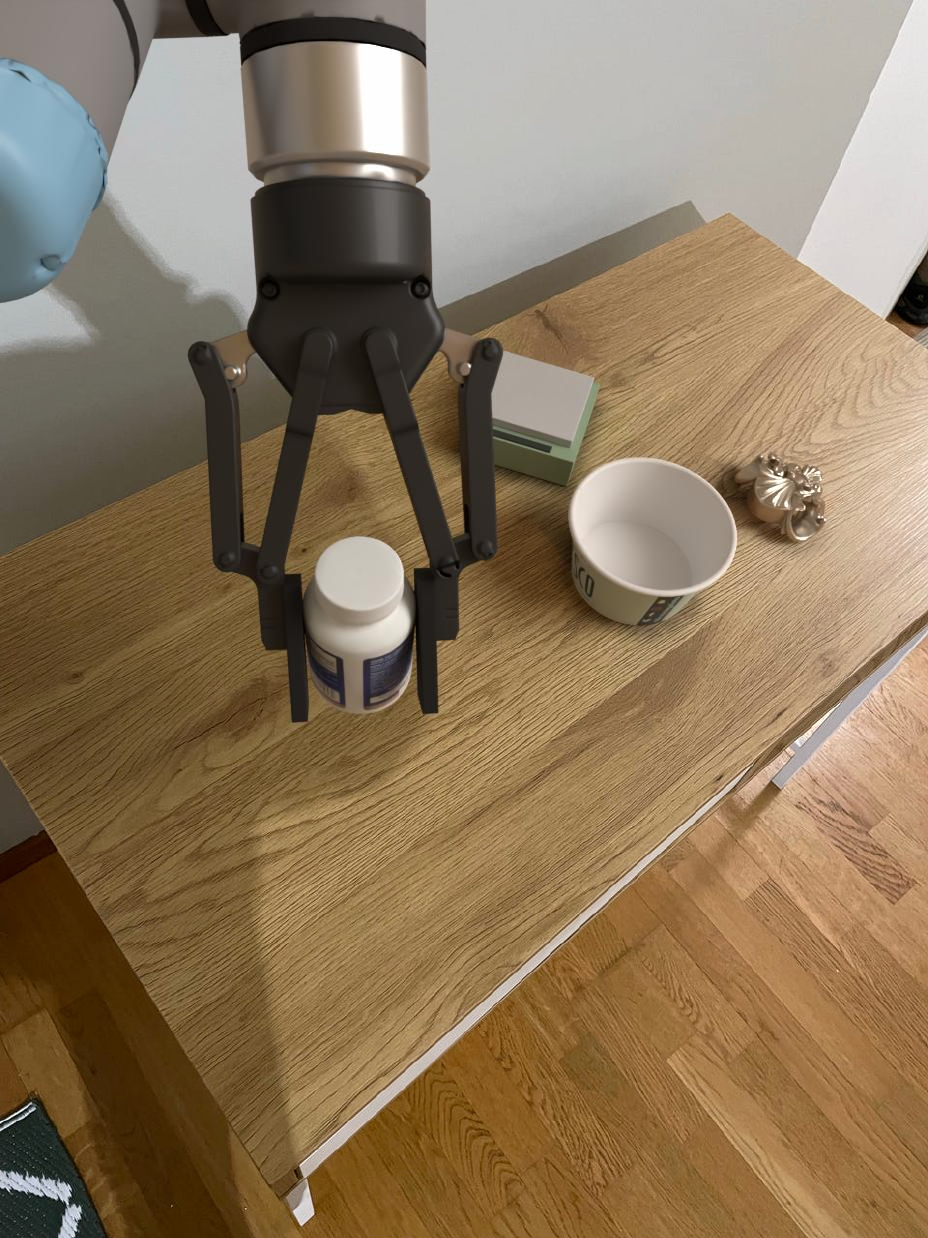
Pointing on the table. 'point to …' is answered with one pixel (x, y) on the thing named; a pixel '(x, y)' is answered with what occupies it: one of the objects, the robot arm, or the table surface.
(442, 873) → the table surface
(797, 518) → the ornament
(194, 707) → the table surface
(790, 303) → the table surface
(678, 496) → the food container
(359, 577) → the pill bottle
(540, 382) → the scale
